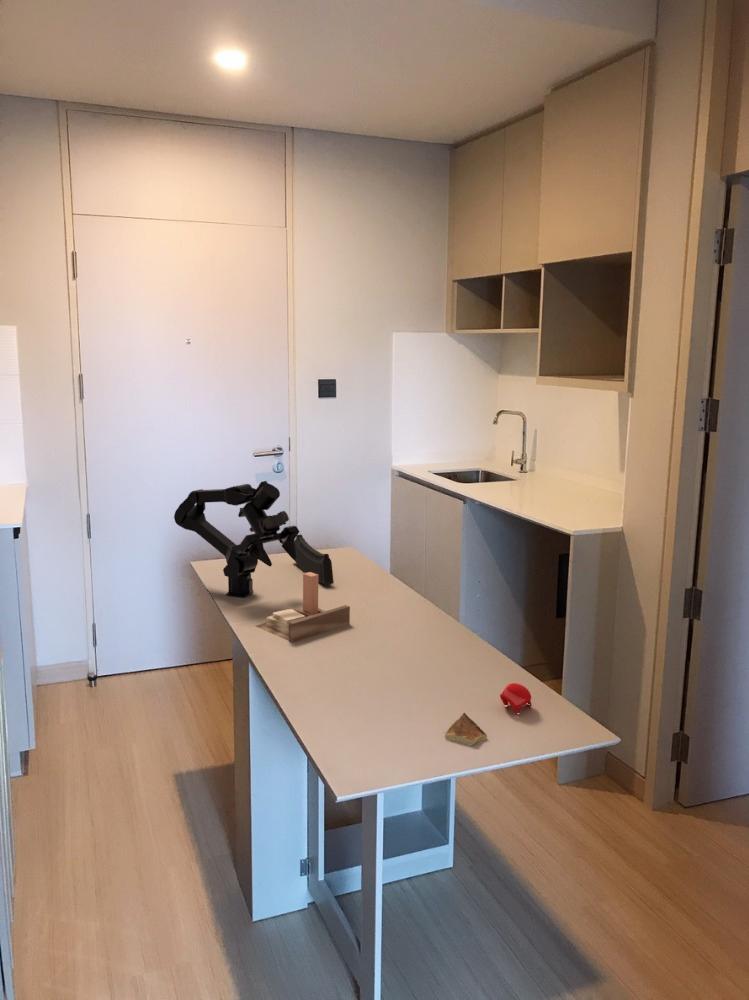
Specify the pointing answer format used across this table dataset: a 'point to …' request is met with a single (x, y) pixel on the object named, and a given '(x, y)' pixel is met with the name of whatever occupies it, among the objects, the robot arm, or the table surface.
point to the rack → (305, 622)
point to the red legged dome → (516, 696)
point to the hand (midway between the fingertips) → (283, 562)
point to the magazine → (313, 561)
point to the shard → (465, 731)
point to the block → (310, 593)
